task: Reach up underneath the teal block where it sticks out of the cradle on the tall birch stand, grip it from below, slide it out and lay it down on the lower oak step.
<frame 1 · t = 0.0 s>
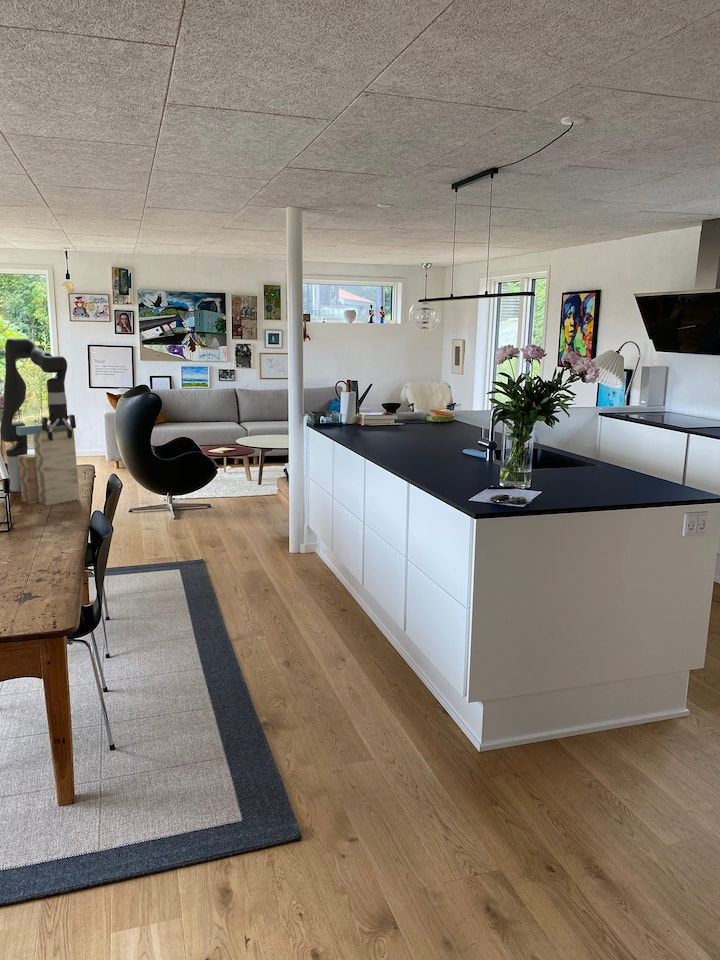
hand: (60, 439, 323), 29 cm above the table, tool pointing down, fingers open, 8 cm apart
birch stand: (59, 501, 335), on the table
teal block: (43, 432, 325), point 32 cm above the table, touching birch stand
oak step: (41, 499, 338), on the table
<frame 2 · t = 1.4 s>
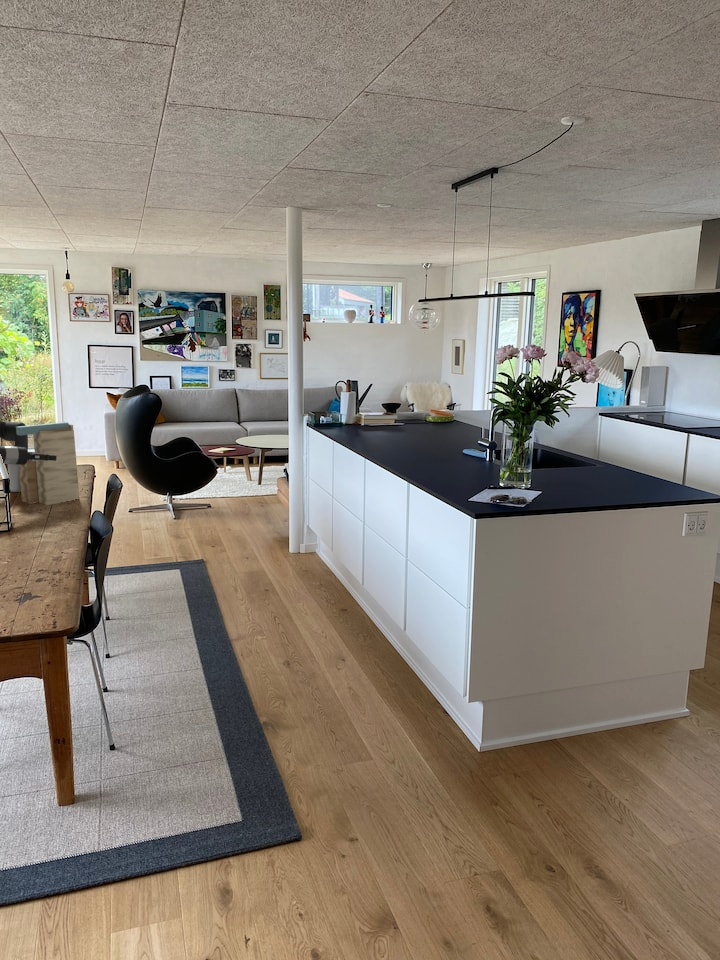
hand: (51, 457, 320), 22 cm above the table, tool horizontal, fingers open, 7 cm apart
nothing on the table moved.
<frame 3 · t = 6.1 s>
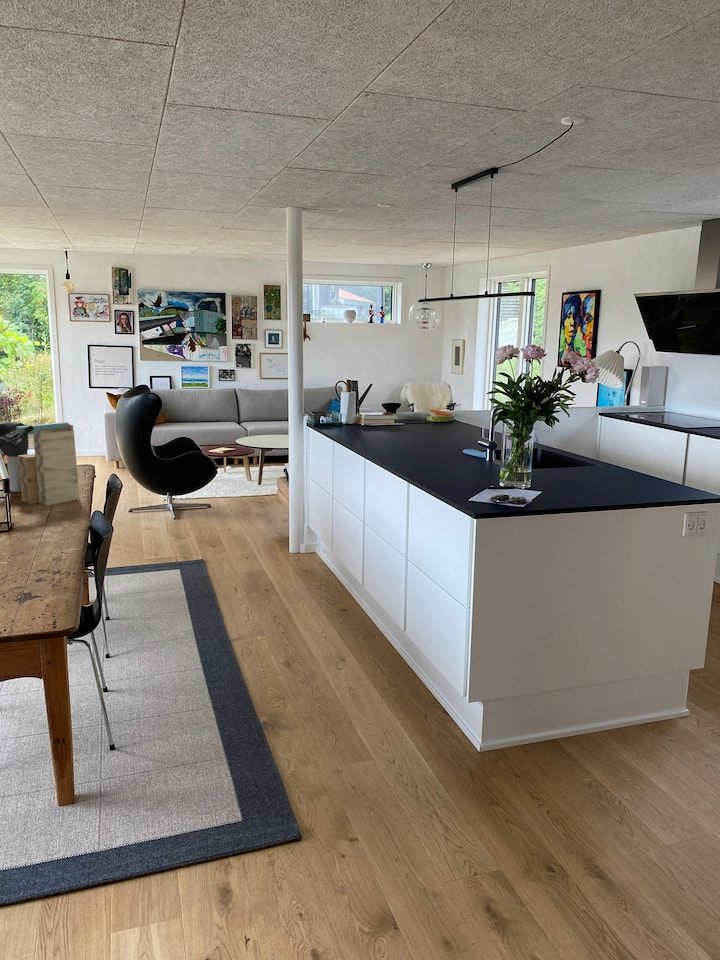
hand: (30, 426, 320), 35 cm above the table, tool pointing upward, fingers closed on teal block, 3 cm apart
teal block: (43, 432, 325), point 32 cm above the table, touching birch stand, gripper
everything else where it was.
when the fingers open (26 cm above the table, at t = 12.4 s): teal block drops 2 cm, resting on oak step.
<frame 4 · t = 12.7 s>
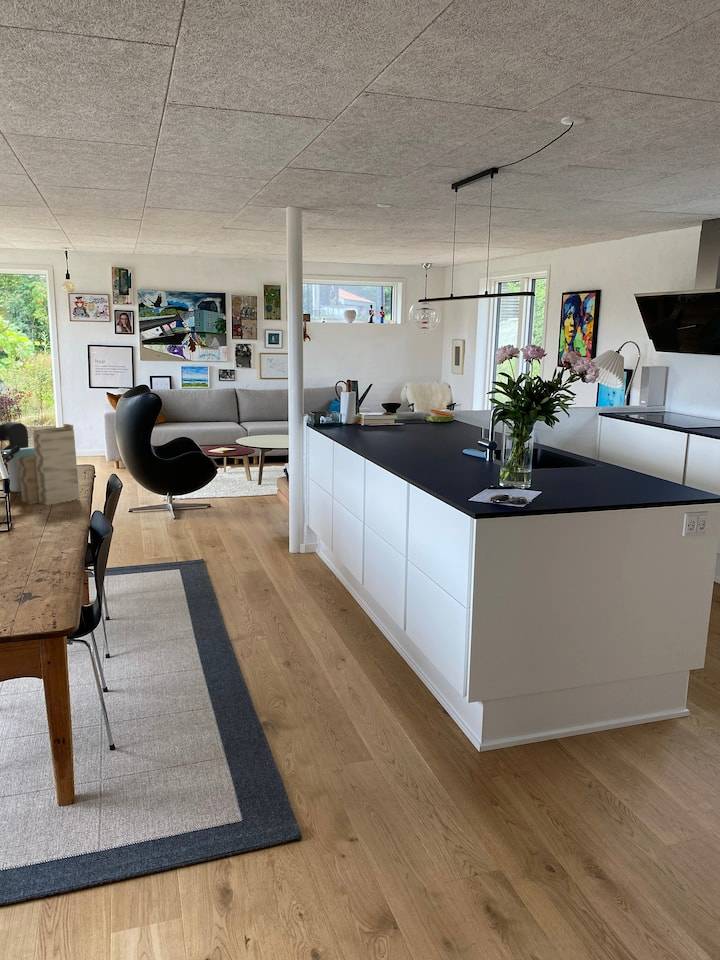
hand: (15, 446, 326), 26 cm above the table, tool pointing upward, fingers open, 6 cm apart
teal block: (29, 455, 331), point 21 cm above the table, touching oak step
everything else where it was.
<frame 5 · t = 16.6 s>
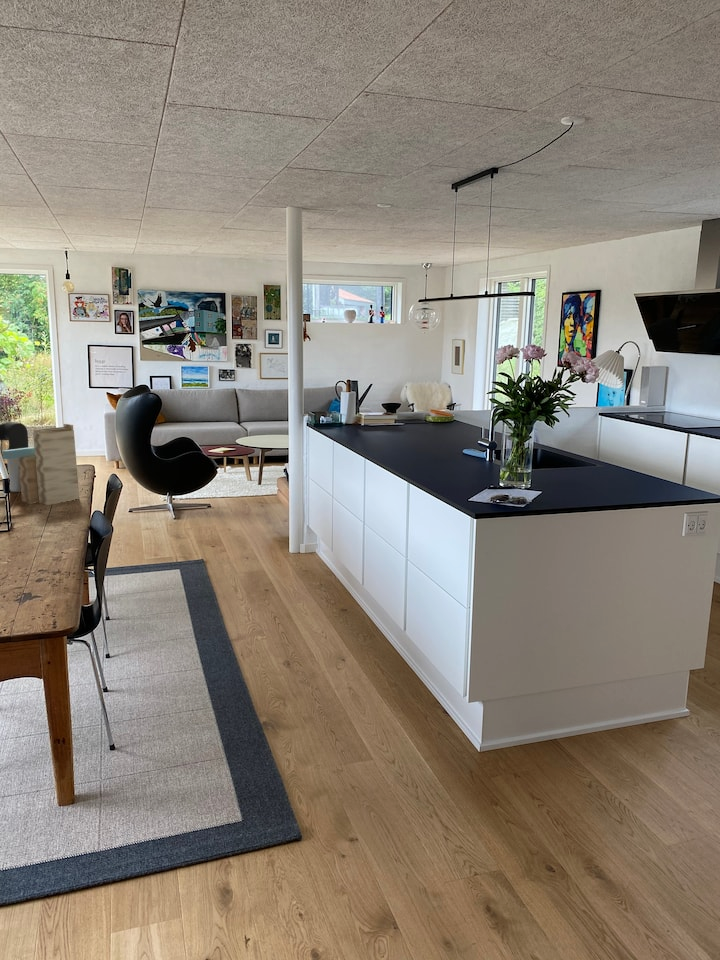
nothing on the table moved.
at the end: teal block inside the target area on the oak step (0.5 cm from its centre), point 21.0 cm above the oak step's base; teal block touching oak step; the gripper is holding nothing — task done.
